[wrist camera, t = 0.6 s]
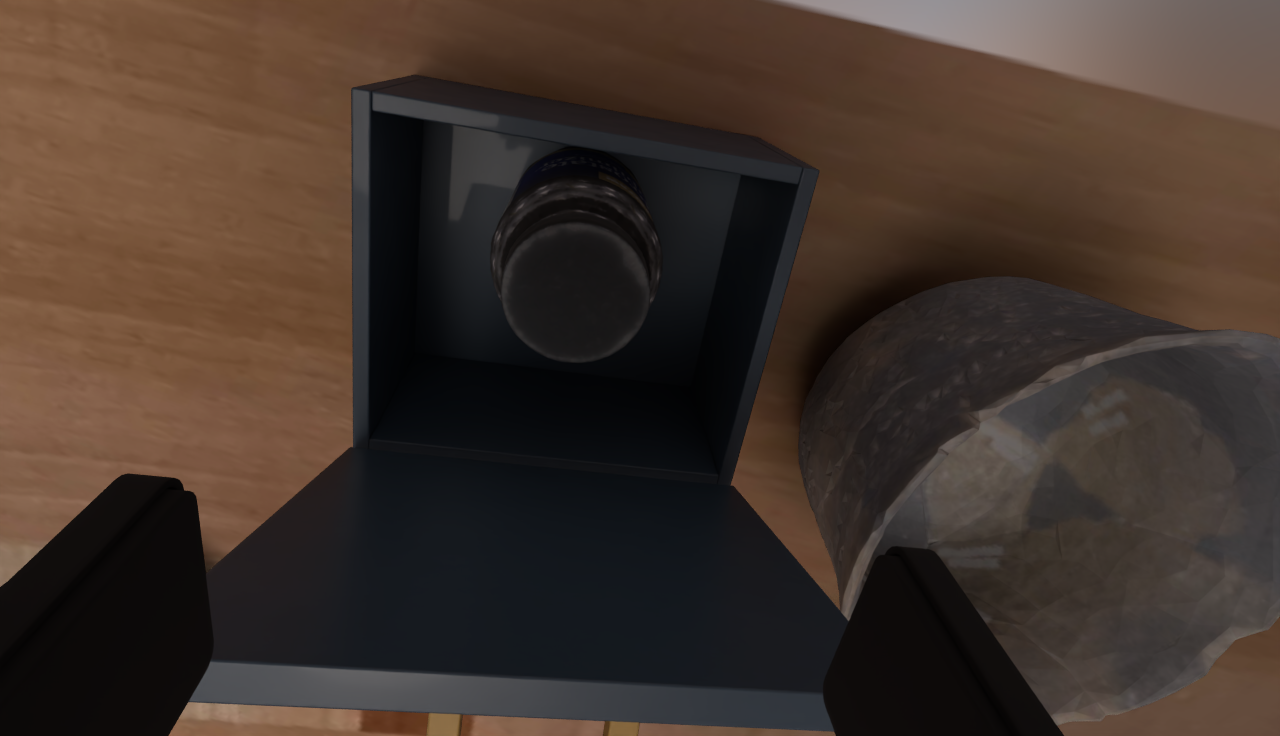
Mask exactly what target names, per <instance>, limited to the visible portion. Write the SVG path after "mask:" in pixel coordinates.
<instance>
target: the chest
mask: <svg viewBox="0 0 1280 736" xmlns="http://www.w3.org/2000/svg"><path fill="white" fill-rule="evenodd" d="M351 118H352V314H353V448H363V449H373V450H383V451H393V452H403V453H413V454H423V455H433V456H442V457H452V458H462V459H472V460H482V461H492V462H502V463H512V464H522V465H531V466H541V467H551V468H561V469H571V470H581V471H591V472H601V473H610V474H620V475H630V476H640V477H650V478H660V479H670V480H680V481H690V482H699V483H709V484H719V485H729V486H730V485H731V481H732V478H733V474H734V471H735V467H736V464H737V460H738V457H739V453H740V450H741V446H742V443H743V439H744V436H745V432H746V429H747V425H748V421H749V418H750V414H751V411H752V407H753V404H754V400H755V397H756V393H757V390H758V386H759V383H760V379H761V376H762V372H763V369H764V365H765V362H766V358H767V354H768V351H769V347H770V344H771V340H772V337H773V333H774V330H775V326H776V323H777V319H778V316H779V312H780V309H781V305H782V302H783V298H784V295H785V291H786V287H787V284H788V280H789V277H790V273H791V270H792V266H793V263H794V259H795V256H796V252H797V249H798V245H799V242H800V238H801V235H802V231H803V228H804V224H805V220H806V217H807V213H808V210H809V206H810V203H811V199H812V196H813V192H814V189H815V185H816V182H817V178H818V175H819V170H818V169H816V168H814V167H812V166H810V165H808V164H807V163H805V162H803V161H801V160H799V159H797V158H796V157H794V156H792V155H790V154H788V153H786V152H784V151H783V150H781V149H779V148H777V147H775V146H773V145H772V144H770V143H768V142H766V141H764V140H762V139H761V138H759V137H754V136H748V135H743V134H737V133H732V132H726V131H721V130H715V129H710V128H704V127H699V126H693V125H688V124H683V123H677V122H672V121H666V120H661V119H655V118H650V117H644V116H639V115H633V114H628V113H622V112H617V111H611V110H606V109H600V108H595V107H589V106H584V105H578V104H573V103H567V102H562V101H556V100H551V99H545V98H540V97H534V96H529V95H523V94H518V93H513V92H507V91H502V90H496V89H491V88H485V87H480V86H474V85H469V84H463V83H458V82H452V81H447V80H441V79H436V78H430V77H425V76H419V75H411V76H406V77H402V78H397V79H392V80H387V81H382V82H377V83H373V84H368V85H363V86H358V87H353V88H352V89H351ZM566 147H582V148H588V149H594V150H599V151H603V152H605V153H607V154H609V155H611V156H613V157H615V158H616V159H618V160H619V161H620V162H622V163H623V164H624V165H625V166H626V167H627V168H629V169H630V170H631V171H632V173H633V174H634V176H635V177H636V179H637V181H638V184H639V186H640V188H641V190H642V192H643V195H644V197H645V200H646V203H647V206H648V208H649V211H650V214H651V217H652V220H653V222H654V225H655V228H656V230H657V233H658V236H659V238H660V243H661V248H662V255H663V264H662V269H663V270H662V277H661V280H660V285H659V288H658V291H657V293H656V296H655V298H654V300H653V302H652V303H651V305H650V307H649V309H648V312H647V316H646V318H645V320H644V322H643V324H642V326H641V328H640V330H639V331H638V333H637V334H636V335H635V336H634V338H633V339H632V340H631V341H630V342H629V343H628V344H627V345H626V346H624V347H623V348H622V349H620V350H619V351H617V352H616V353H614V354H612V355H610V356H608V357H605V358H602V359H600V360H596V361H592V362H584V363H570V362H569V363H567V362H561V361H557V360H553V359H551V358H547V357H545V356H543V355H541V354H540V353H538V352H536V351H534V350H533V349H531V348H530V347H529V346H527V345H526V344H525V343H524V342H523V341H522V340H521V339H520V338H519V337H518V336H517V335H516V334H515V332H514V331H513V330H512V328H511V326H510V325H509V322H508V321H507V319H506V315H505V313H504V310H503V307H502V303H501V301H500V299H499V296H498V295H497V293H496V288H495V287H494V283H493V279H492V276H491V270H490V252H491V241H492V237H493V235H494V233H495V231H496V228H497V225H498V223H499V220H500V219H501V217H502V215H503V213H504V211H505V209H506V207H507V205H508V203H509V201H510V199H511V197H512V195H513V192H514V190H515V188H516V186H517V184H518V182H519V180H520V179H521V177H522V176H523V174H524V173H525V171H526V170H527V168H528V167H529V166H530V165H532V164H533V163H534V162H536V161H537V160H539V159H541V158H542V157H544V156H546V155H548V154H550V153H553V152H555V151H557V150H559V149H562V148H566Z"/></svg>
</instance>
